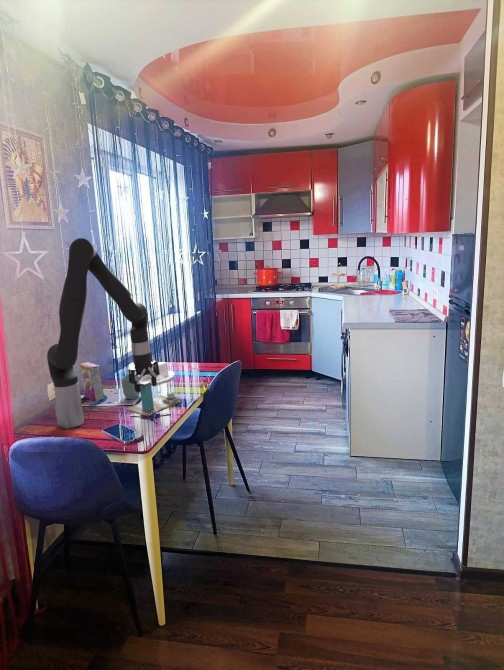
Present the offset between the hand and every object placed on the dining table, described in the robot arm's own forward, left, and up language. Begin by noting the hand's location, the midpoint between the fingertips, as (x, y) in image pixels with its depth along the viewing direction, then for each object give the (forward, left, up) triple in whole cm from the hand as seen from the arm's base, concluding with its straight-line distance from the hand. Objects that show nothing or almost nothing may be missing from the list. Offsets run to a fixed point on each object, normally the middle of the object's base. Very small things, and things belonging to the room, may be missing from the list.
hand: (146, 388), depth 197 cm
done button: (+12, -1, -8) cm, 14 cm away
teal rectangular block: (-1, 0, -9) cm, 9 cm away
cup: (+7, +21, -10) cm, 25 cm away
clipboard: (+5, +3, -10) cm, 12 cm away
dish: (+31, +37, -11) cm, 50 cm away
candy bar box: (-3, +37, -10) cm, 39 cm away
